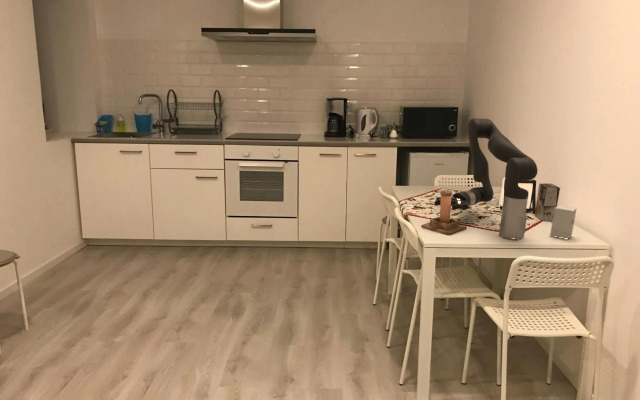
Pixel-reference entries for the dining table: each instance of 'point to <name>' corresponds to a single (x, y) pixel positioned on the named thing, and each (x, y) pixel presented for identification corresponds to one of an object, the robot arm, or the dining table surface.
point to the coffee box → (546, 201)
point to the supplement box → (563, 221)
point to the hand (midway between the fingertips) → (443, 205)
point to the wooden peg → (445, 206)
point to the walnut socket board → (444, 226)
